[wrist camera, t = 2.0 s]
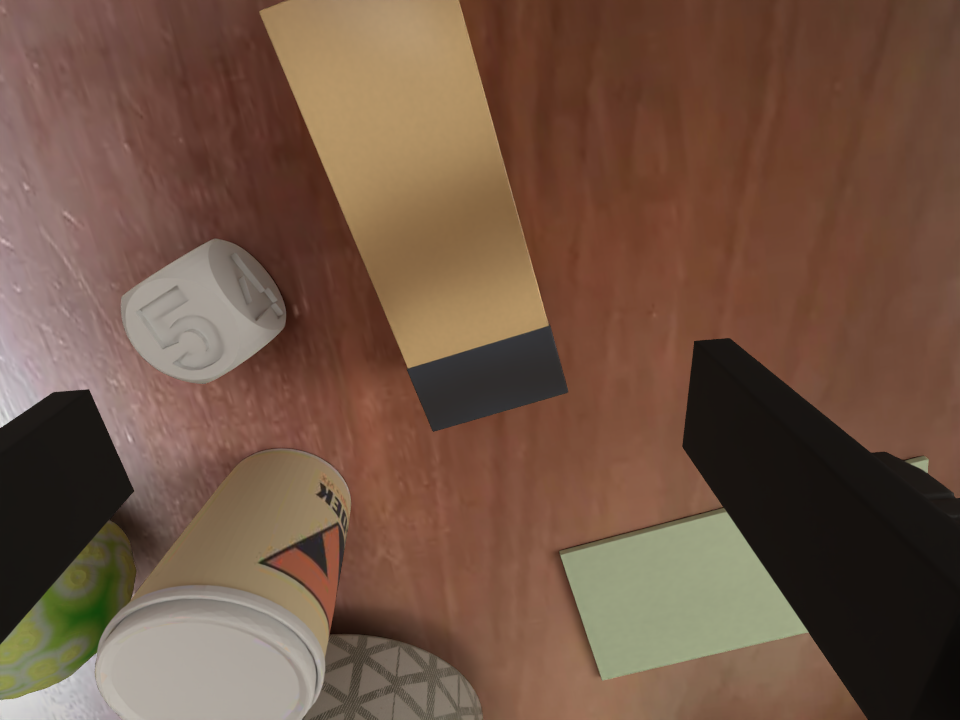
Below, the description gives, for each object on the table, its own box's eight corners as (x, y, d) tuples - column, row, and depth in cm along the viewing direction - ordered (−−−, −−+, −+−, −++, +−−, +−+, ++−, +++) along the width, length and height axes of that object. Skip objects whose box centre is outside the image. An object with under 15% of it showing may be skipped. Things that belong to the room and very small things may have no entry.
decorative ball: (91, 604, 36) (-33, 769, 27) (-35, 507, 32) (-231, 662, 23) (202, 547, 34) (109, 703, 25) (82, 438, 30) (-79, 575, 21)
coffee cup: (374, 549, 35) (335, 747, 24) (233, 558, 34) (129, 761, 24) (353, 430, 31) (295, 603, 20) (193, 440, 30) (47, 619, 20)
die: (234, 228, 25) (186, 252, 21) (299, 310, 27) (267, 349, 23) (158, 278, 26) (95, 312, 22) (225, 355, 28) (181, 400, 24)
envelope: (923, 455, 33) (930, 460, 33) (913, 602, 39) (919, 607, 38) (558, 550, 35) (560, 556, 35) (600, 675, 41) (602, 682, 41)
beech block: (314, 42, 22) (255, 11, 16) (448, -8, 22) (443, -62, 15) (438, 363, 29) (432, 432, 23) (543, 331, 28) (568, 392, 22)
